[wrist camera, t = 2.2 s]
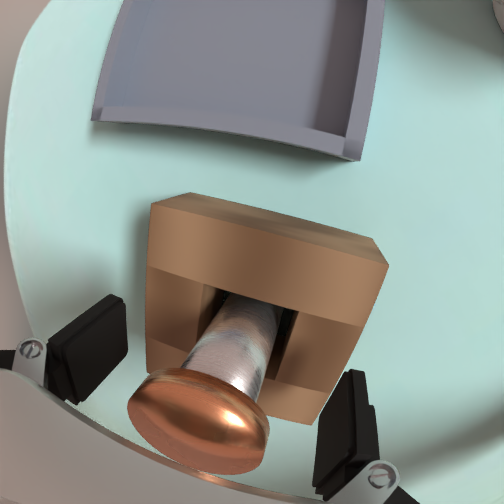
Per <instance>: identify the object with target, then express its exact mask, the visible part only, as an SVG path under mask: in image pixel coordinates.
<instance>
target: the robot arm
mask: <svg viewBox="0 0 504 504" xmlns="http://www.w3.org/2000/svg"><path fill="white" fill-rule="evenodd" d="M127 352H128V342H127V326H126V305H125V303H123V299H122V298H120V297H117V296H115V295H113V294H109V295H108V296H106V297H105V298H103V299H102V300H101V301H99V302H98V303H96V304H95V305H94V306H92V307H91V308H90V309H88V310H87V311H85V312H84V313H83V314H81V315H80V316H79V317H77V318H76V319H75V320H73V321H72V322H71V323H69V324H68V325H67V326H65V327H64V328H63V329H61V330H60V331H59V332H57V333H56V334H55V335H53V336H52V337H51V338H49V339H48V343H47V344H45V342H44V341H42V340H41V339H39V338H27V339H24V340H23V341H21V342H20V343H19V344H18V346H17V348H16V350H0V504H420V503H418V502H417V501H416V500H415V499H414V498H412V497H411V496H410V495H409V494H408V493H406V492H405V491H404V490H403V489H402V488H400V487H399V486H398V484H399V480H400V475H399V472H398V470H397V468H396V467H395V466H394V465H393V464H392V463H390V462H388V461H384V460H380V455H379V443H378V433H377V424H376V415H375V409H374V406H373V405H369V401H368V393H367V385H366V378H365V372H364V371H359V370H354V369H350V370H349V371H348V372H346V371H345V372H344V373H343V375H342V377H341V378H340V380H339V382H338V384H337V386H336V387H335V389H334V391H333V393H332V395H331V396H330V398H329V400H328V402H327V403H326V405H325V407H324V408H323V410H322V412H321V414H320V416H319V422H318V435H317V446H316V456H315V465H314V473H313V481H312V486H313V487H316V492H315V494H320V495H323V500H324V501H320V500H315V499H309V498H304V497H299V496H293V495H287V494H282V493H277V492H273V491H268V490H264V489H259V488H255V487H251V486H247V485H243V484H240V483H236V482H232V481H229V480H225V479H222V478H219V477H216V476H213V475H210V474H207V473H204V472H201V471H198V470H195V469H192V468H190V467H187V466H184V465H182V464H179V463H177V462H174V461H172V460H170V459H167V458H165V457H162V456H160V455H158V454H156V453H153V452H151V451H149V450H147V449H145V448H143V447H141V446H139V445H137V444H135V443H133V442H131V441H129V440H127V439H125V438H123V437H121V436H119V435H117V434H116V433H114V432H112V431H110V430H108V429H107V428H105V427H103V426H101V425H100V424H98V423H96V422H95V421H93V420H91V419H90V418H88V417H87V416H85V415H83V414H82V413H80V412H79V411H77V410H76V409H74V408H73V407H71V406H70V405H68V404H67V403H65V402H64V401H65V400H66V399H67V400H69V401H70V402H72V403H73V404H75V405H76V406H77V405H78V404H79V402H80V401H81V402H83V401H85V400H86V399H87V398H88V397H89V395H90V394H91V393H92V392H93V391H94V390H95V389H96V388H97V387H98V386H99V385H100V383H101V382H102V381H103V380H104V379H105V378H106V377H107V376H108V375H109V374H110V373H111V372H112V370H113V369H114V368H115V367H116V366H117V365H118V364H119V363H120V362H121V361H122V360H123V359H124V358H125V356H126V355H127Z"/></svg>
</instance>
